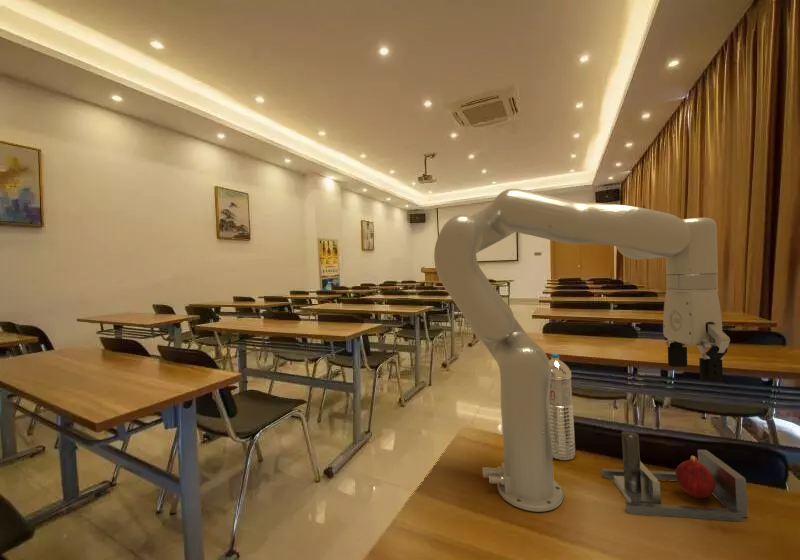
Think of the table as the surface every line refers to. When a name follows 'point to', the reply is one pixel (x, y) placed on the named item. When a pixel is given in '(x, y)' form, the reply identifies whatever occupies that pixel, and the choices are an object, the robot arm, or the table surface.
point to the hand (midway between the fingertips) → (693, 373)
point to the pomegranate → (695, 478)
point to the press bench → (726, 490)
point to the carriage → (636, 474)
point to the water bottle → (561, 410)
